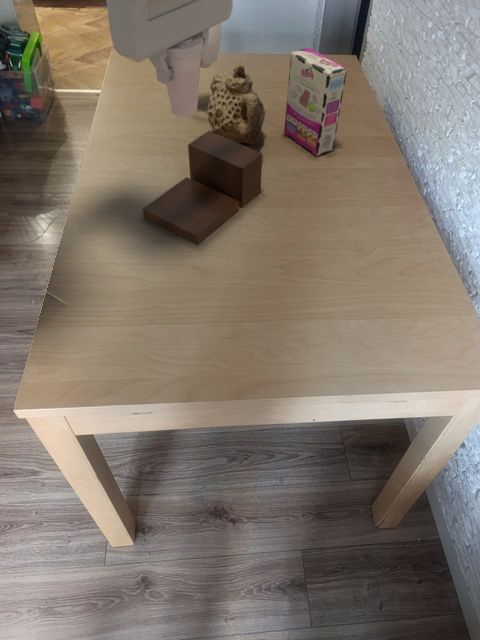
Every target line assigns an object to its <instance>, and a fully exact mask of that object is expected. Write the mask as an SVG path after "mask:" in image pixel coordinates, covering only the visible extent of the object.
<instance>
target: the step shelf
mask: <svg viewBox="0 0 480 640" xmlns="http://www.w3.org/2000/svg"><path fill="white" fill-rule="evenodd" d="M187 148H188V149H187V150H188V151H187V152H188V163H189V176H190V177H185V178H183V179H182V180H181V181H179V182H178V183H176V184H175V185H173V186H172V187H171V188H169V189H168V190H166V191H165V192H164V193H162V194H160V195H159V196H158V197H157V198H155V199H154V200H152V201H151V202H150V203H148V204H146V206H144V207H142V213H143V218H144V219H145V220H147V221H149V222H151V223H152V224H155V225H157V226H159V227H161V228H163V229H165V230H167V231H169V232H171V233H173V234H174V235H176V236H178V237H179V238H182V239H184V240H186V241H188V242H190V243H192V244H194V245H196V246H198V245H200V244H201V243H203V241H204V240H206V239H207V238H208V237H209V236H210V235H212V234H213V233H214V232H215V231H216V230H218V229H219V228H220V227H221V226H222V225H224V223H226V222H228V220H230V218H232V217H233V216H234V215H235V214H236V213H238V212H239V210H240V208H244V207H245V206H246V205H247V204H248V203H250V202H251V201H252V200H254V199H255V198H256V197H257V196H258V195H259V194H260V193H261V189H262V170H263V152H260V151H258V150H256V149H253V148H251V147H249V146H246V145H243V144H239V143H236V142H234V141H232V140H229V139H227V138H224V137H222V136H220V135H217V134H216V133H215V132H213V131H211V130H208V131H206V132H205V133H204V134H202V135H200V136H199V137H197V138H196V139H194V140H193V141H191V142H190V143H188V144H187Z"/></svg>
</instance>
